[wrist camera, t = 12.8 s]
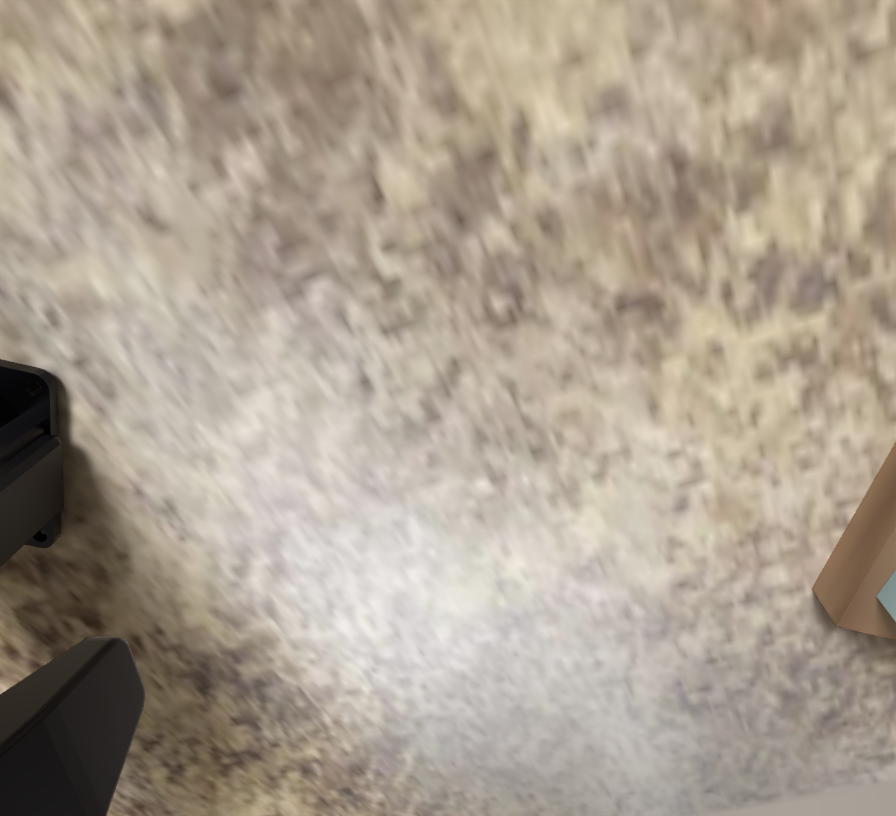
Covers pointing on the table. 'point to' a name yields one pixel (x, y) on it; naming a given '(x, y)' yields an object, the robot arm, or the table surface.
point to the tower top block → (889, 596)
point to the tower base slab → (864, 561)
